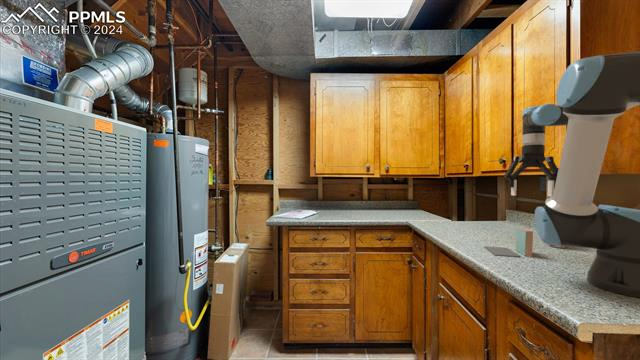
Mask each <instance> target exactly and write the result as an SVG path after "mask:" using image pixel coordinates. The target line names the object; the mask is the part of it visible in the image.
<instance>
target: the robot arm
mask: <svg viewBox="0 0 640 360" xmlns="http://www.w3.org/2000/svg"><path fill="white" fill-rule="evenodd" d="M555 95H556V99H555V100H556V103H557V104H554V103H545V104H542V105H534V106H529V107H526V108H524V109H523V110H522V117H521V119H522V131H521V133H522V134H521V137H522V138H521V145H522V146H521V156H519V155H517V156H513V157H512V162H511V164H510V165H509V166H508V169H507V171H506V172H505V174H504V176H503V178H504V179H507V180H508V186H509V188H510V191H511V192H510V196H514V197H515V196H517V185H518V184H517V181H518V180H517V179H516V178H517V177H518V176H519V175H520V174H521V173H522V172H523V171H524V170H525V169H526V168H538V169H540V171H542V172H543V174H544V175H545V176H546V177H547V178H548V179H549V180H547V198H546V199H545V202H544V206H536V208H535V209H534V223H535V228H536V233H537V236H538V237H539V239H540V240H541V242H543V243H544V244H546V245H549V244H551V245H558V246H568V247H569V248H572V247H573V248H581V249H582V248H583V249H594V250H596V253H595V257H594V259H593V262H592V263H591V265H590V266H589V269H588V271H587V275H586V281H587V282H588V283H590V284H592V285H593V286H595V287H598V288H601V289H603V290H605V291H610V292H612V293H615V294H621V295H625V296H629V297H635V298H640V209H635V208H629V207H623V206H616V205H615V206H614V205H608V204H599V205H598V206H597V205H596V204H595V203H593V200H594V197H595V194H596V193H595V192H596V189H597V185H598V183H599V182H598V181H599V178H600V174H601V171H602V167H603V163H604V159H605V155H606V152H607V149H608V148H607V147H608V144H609V140H610V137H611V133H612V129H613V125H614V122H615V119H617V118H619V116H622V115H623V114H625V113H626V112H627V111H626V110H629V109H632V108H634V107H638V106H640V51H631V52H621V53H613V54H603V55H600V54H598V55H596V56H595V55H594V56H590V57H589V56H588V57H584V58H580V59H579V58H578V59H577V60H575V61H573V62H572V63H571V64H569V65H568V66H567V68H566V69H565V71H564V72H563V74H562V75H561V77H560V80H559V82H558V85H557V89H556V94H555ZM559 126H561V127H562V126H566V131H565V136H564V140H563V146H562V151H561V156H560V160H559V164H558V165H559V166H557V165H556V163H555V159H554V156H553V155H551V156H545V151H546V145H544V144H545V143H546V127H559ZM520 161H521V162H522V163H520V165H519V166H518V164H519V162H520ZM544 162H546V163H547V164H545V163H544ZM517 166H518V167H517ZM547 166H548V167H549V168H548V167H547ZM515 169H516V170H515Z"/></svg>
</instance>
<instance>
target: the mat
mask: <svg viewBox="0 0 640 360" xmlns="http://www.w3.org/2000/svg"><path fill="white" fill-rule="evenodd" d="M483 248H484V249H486V250H487V251H488V252H490V253H491V254H492V255H494V256H495V257H496V256H497V257H513V258H522V256H521V255H520V254H518V252H516V251H514V250H512V249H510V248H508V247H502V246H501V247H500V246H483Z"/></svg>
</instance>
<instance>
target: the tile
mask: <svg viewBox="0 0 640 360" xmlns="http://www.w3.org/2000/svg"><path fill="white" fill-rule="evenodd" d="M515 228H516V229H515V230H516V232H515V252H517V253H520V254H521V255H523V256H525V257H531V258H532V257H533V245H534V244H533V243H534V231H533V230H531V229H529V228H526V227H524V226H522V227H521V226H520V227H519V226H517V227H515Z"/></svg>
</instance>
